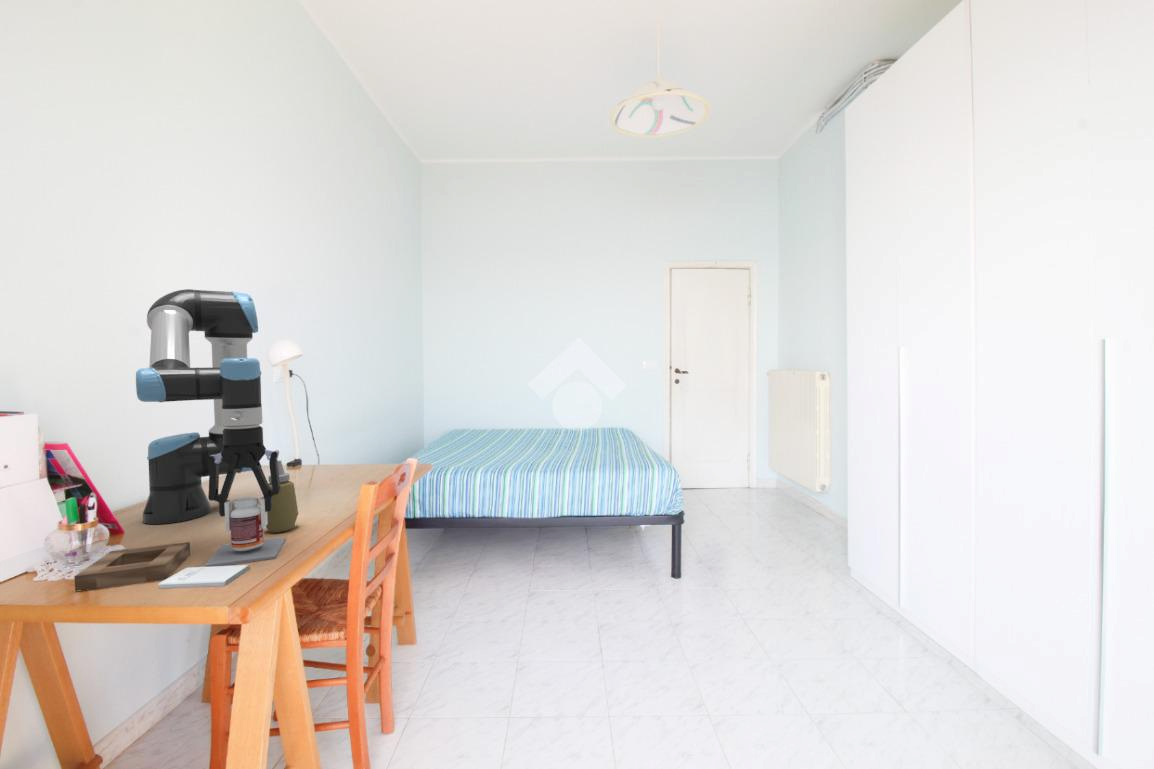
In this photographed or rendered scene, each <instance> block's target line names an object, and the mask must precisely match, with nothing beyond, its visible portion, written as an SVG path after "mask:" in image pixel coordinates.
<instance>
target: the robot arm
mask: <svg viewBox="0 0 1154 769" xmlns="http://www.w3.org/2000/svg"><path fill="white" fill-rule="evenodd" d="M258 321H259V320H258V316H257V310H256V306H255V303H254V299H253V298H252V296H251V295H250V294H248V293H245V292H244V293H243V292H235V291H225V290H223V291H222V290H221V291H220V290H203V289H201V290H200V289H193V288H192V289H190V288H189V289H186V288H185V289H179V290H176V291H172V292H170V293H167V294H165V295H163V296H161V297H160V298H158V299H157V300H156V301H154V303H152V305H151V306H150V307H149V309H148V311H147V315H146V324H147V327H148V328H149V330H150V332H151V334H150V351H149V367H147V368H146V367H145V368H139V369H137V371H136V372H135V391H136V395H137V396H136V397H137V400H139V401H140V402H144V403H151V402H153V403H155V402H156V403H157V402H158V403H165V402H181V401H182V402H184V401H205V400H206V401H208V400H210V401H211V400H213V412H214V415H213V416H214V425H213V426H211V427H210V429H208V436H201V435H200V433H199V432H189V433H187V432H186V433H179V434H174V435H169V436H165V437H161V438H157V439H154V440H152V441H151V442H150V443H149V444H148V446H147V457H146V459H147V461H148V482H149V484H148V485H149V494H148V498H147V500H146V503H145V506H144V509H143V511H142V523H143V522H144V523H143V524H146V523H147V525H163V524H172V523H179V522H185V521H189V520H193V519H198V518H201V517H204V516H206V515H208V514H209V513H210V512H211V504H210V502H211V501H215V502H217V503H218V506H219V507H218V510H219V516H220V517H224V522H225V524H224V527H225V532H226V533H227V532H231V525H230V513H231V512H232V511H233V499H228V498H229V495H230V492H231V489H232V487H233V482H234V480H235V477H236V474H237V473H238V474H241V473H244V472H245V473H246V472H253V474H254V477H255V479H256V481H257V484H258V487H259V488H260V492H261V494H262V495H263V496H262V497H261V498H260V501H259V502H260V507H261V528H263V529H264V528H266V526H267V524H268V519H267V512H268V511H271V509H272V496H273V495H276V494H278V493H279V492H280V490H281V487H280V479H279V471H278V463H277V461H278V460H279V455H280V451H279V450H277V449H275V450H269V449H267V448H266V446H265V445H264V430H263V429H264V428H263V427H262V426H261V425H262V424H263V422H264V421H263V407H262V406H263V405H262V381H261V380H262V379H261V378H262V377H261V375H262V371H261V364H260V360H259V359H257V358H254V357H253V358H251V357H250V358H249V357H248V343H250V342H251V341H252V340H253V339H254V338H253V334H255V333H258V332H259V324H258V323H259V322H258ZM190 332H204V339H206V340H207V341H208V342H209V343H210V344H211V359H212V360H211V363H212V365H211V366H212V367H191V354H190ZM264 456H265V457H266V459H267V460H268V461H269V472H270V474H269V475H271V481H272V490H271V489H270V487H269V481H268V480H267V478H266V475H265V473H264V471H263V468H262V465H261V462H260V461H261V460H262V458H263V457H264ZM221 475H225V478H224V481H223V484H222V488H221V491H220V493H219V485H220V484H219V483H220V482H219V481H220V476H221ZM203 477H204V478H205V477H209V478H208V479H209V480H208V497H207V494H206V492H205V490H204V489H203V486H202V483H203V482H202V478H203Z"/></svg>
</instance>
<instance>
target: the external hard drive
mask: <svg viewBox="0 0 1154 769" xmlns="http://www.w3.org/2000/svg"><path fill="white" fill-rule="evenodd" d="M249 570H251V565H250V564H240V565H239V564H236V565H224V566H212V567H205V566H196V567H195V566H191V567H189V566H188V567H185V568H184V569H182V570H180V571H178V572H176V573H174V574H173V575H170V576H169V577H168V578H167V579H164V580H161V582H159V583H158V584H157V589H180V588H181V589H182V588H183V589H184V588H203V587H204V588H206V587H207V588H208V587H209V588H210V587H226V586H227V585H229V584H230V583H232V582H233V581H235V580H236V579H238V578H239V577H240V576H241V575H244V574H245V573H246V572H247V571H249Z"/></svg>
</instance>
